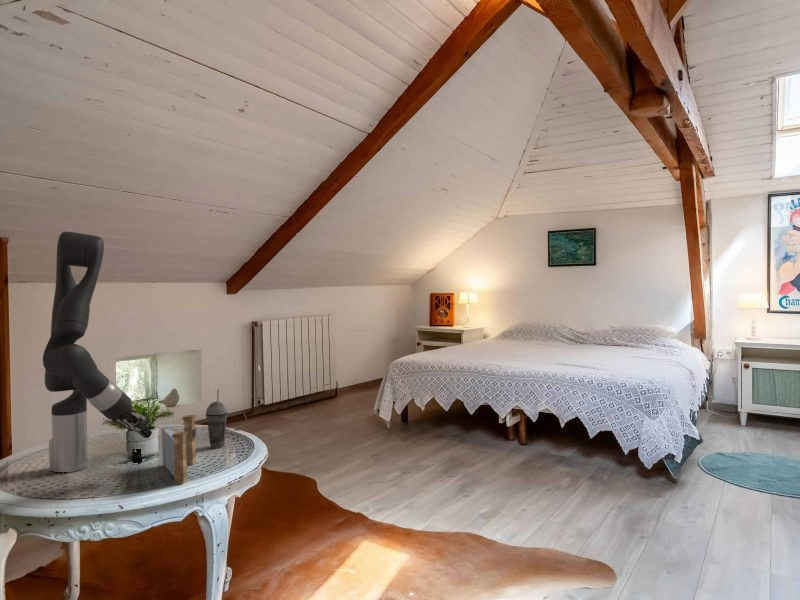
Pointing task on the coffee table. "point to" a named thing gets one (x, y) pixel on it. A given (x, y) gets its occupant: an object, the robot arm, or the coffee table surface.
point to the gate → (168, 449)
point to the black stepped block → (136, 456)
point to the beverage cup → (216, 423)
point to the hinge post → (180, 457)
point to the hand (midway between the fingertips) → (148, 435)
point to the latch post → (190, 438)
